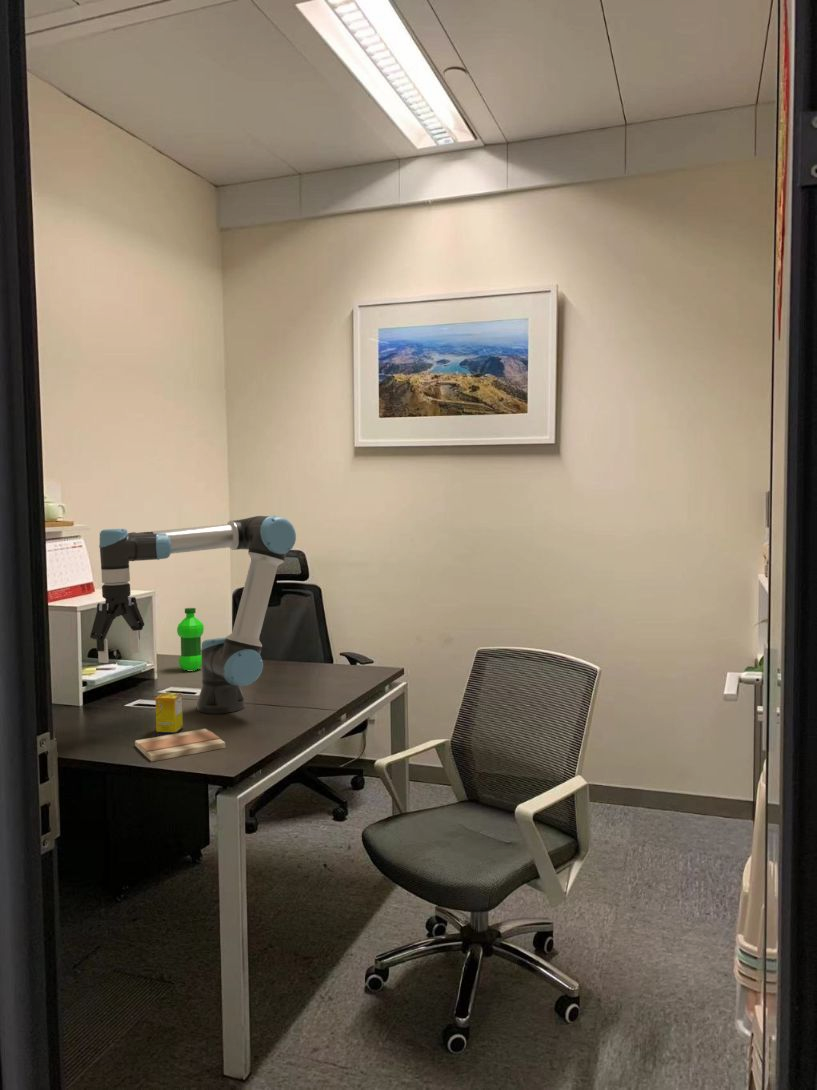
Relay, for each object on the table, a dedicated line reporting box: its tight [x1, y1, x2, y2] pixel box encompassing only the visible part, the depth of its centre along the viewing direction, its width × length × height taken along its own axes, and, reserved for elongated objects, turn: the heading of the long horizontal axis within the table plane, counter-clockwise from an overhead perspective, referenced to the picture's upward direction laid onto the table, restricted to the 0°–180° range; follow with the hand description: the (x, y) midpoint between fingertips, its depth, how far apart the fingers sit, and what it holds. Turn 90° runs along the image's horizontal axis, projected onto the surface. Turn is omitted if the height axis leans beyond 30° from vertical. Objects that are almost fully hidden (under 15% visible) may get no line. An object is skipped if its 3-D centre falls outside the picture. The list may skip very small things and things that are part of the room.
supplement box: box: [154, 692, 184, 736], centre depth 230 cm, size 6×6×11 cm
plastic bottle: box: [176, 607, 205, 671], centre depth 314 cm, size 10×10×25 cm
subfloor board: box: [134, 728, 226, 763], centre depth 216 cm, size 20×16×2 cm
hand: (119, 657), depth 223 cm, fingers open, 13 cm apart
